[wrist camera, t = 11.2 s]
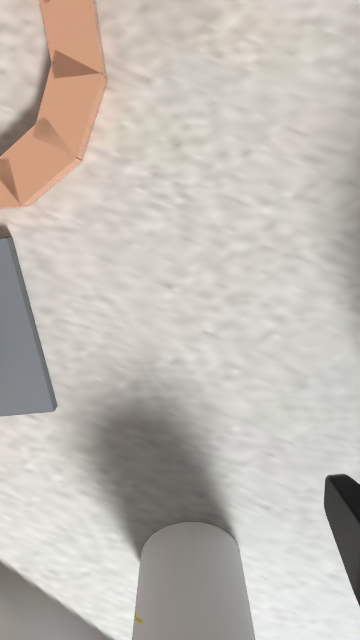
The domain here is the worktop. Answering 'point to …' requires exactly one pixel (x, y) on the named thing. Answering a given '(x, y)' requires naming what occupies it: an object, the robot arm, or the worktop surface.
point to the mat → (20, 345)
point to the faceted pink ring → (59, 105)
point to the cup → (191, 586)
